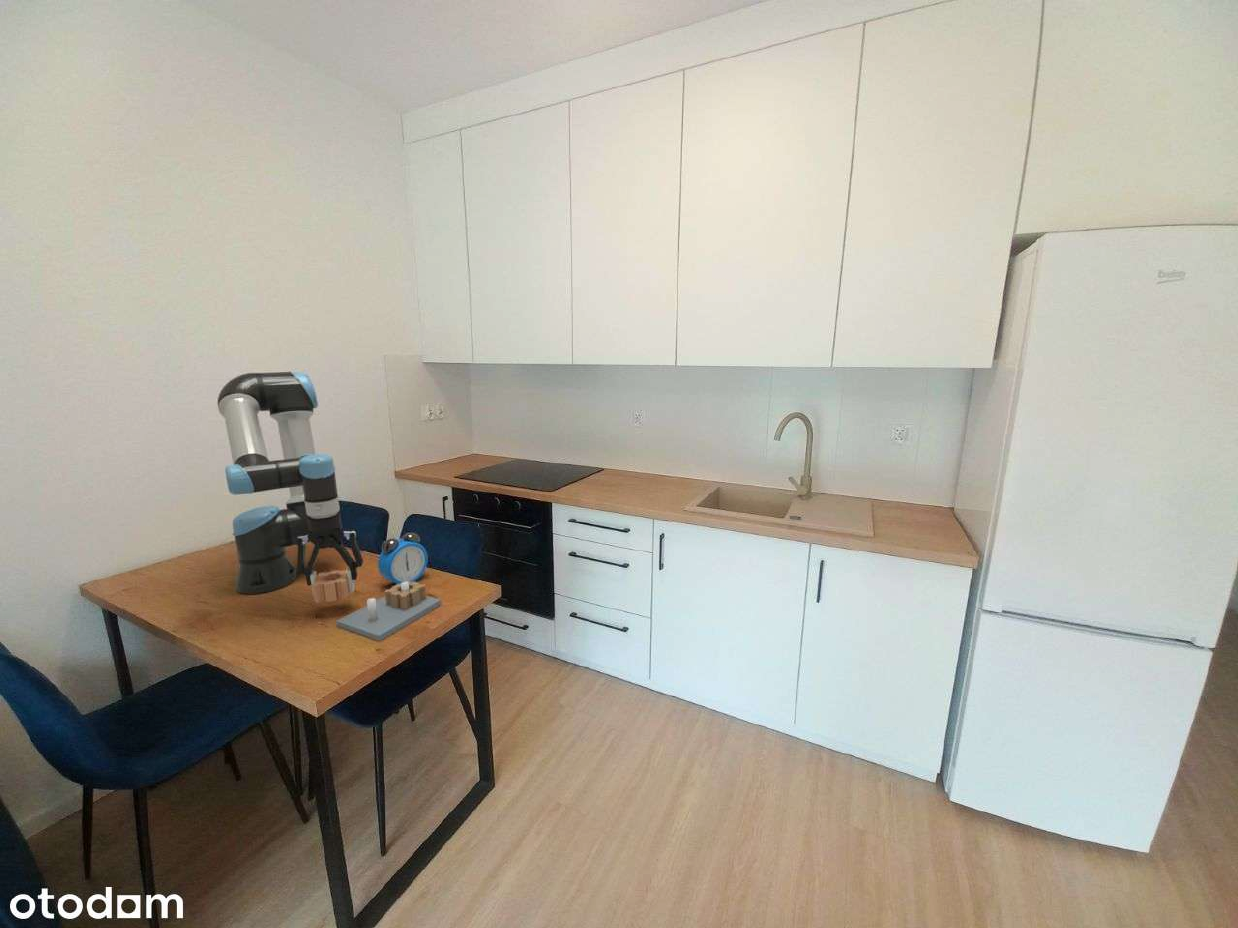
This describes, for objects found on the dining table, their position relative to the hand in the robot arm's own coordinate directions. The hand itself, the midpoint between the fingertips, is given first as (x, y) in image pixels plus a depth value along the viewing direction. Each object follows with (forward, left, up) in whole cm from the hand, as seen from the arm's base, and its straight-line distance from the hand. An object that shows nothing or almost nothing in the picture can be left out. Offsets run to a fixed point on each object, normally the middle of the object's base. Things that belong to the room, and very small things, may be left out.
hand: (334, 592), depth 134 cm
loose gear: (0, 0, 0) cm, 0 cm away
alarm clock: (+3, +21, -6) cm, 22 cm away
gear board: (+16, +5, -5) cm, 17 cm away
